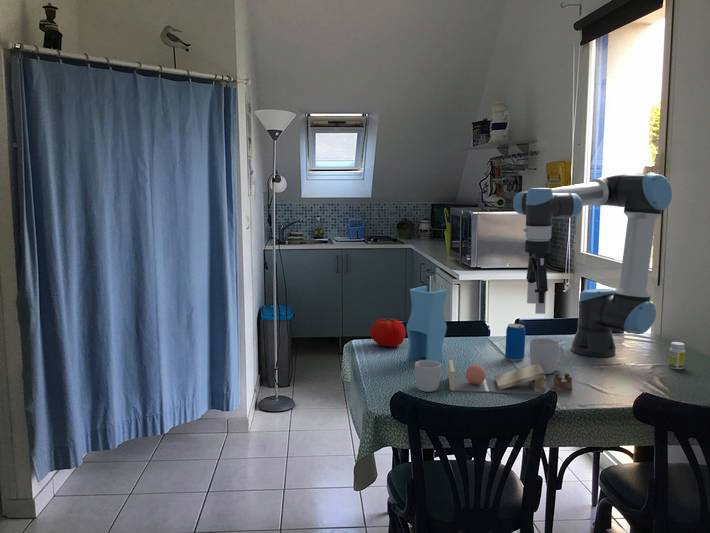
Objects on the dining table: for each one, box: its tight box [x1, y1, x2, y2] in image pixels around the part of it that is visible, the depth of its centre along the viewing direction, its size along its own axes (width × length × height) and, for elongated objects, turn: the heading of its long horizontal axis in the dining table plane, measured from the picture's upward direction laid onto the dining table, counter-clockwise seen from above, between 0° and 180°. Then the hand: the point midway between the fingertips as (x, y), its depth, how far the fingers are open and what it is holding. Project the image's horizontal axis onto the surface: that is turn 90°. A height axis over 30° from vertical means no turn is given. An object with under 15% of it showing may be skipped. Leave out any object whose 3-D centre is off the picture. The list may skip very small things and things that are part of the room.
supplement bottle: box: [668, 341, 686, 370], centre depth 215 cm, size 5×5×8 cm
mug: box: [529, 338, 565, 375], centre depth 211 cm, size 13×9×10 cm
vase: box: [405, 285, 448, 363], centre depth 219 cm, size 10×10×25 cm
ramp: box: [494, 363, 547, 392], centre depth 194 cm, size 14×9×6 cm, turn 84°
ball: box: [465, 364, 487, 385], centre depth 196 cm, size 6×6×6 cm
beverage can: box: [504, 323, 527, 362], centre depth 223 cm, size 6×6×12 cm
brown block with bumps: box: [553, 372, 573, 392], centre depth 193 cm, size 5×5×4 cm
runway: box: [447, 359, 551, 396], centre depth 195 cm, size 30×12×6 cm, turn 84°
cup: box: [414, 359, 442, 393], centre depth 193 cm, size 11×8×8 cm
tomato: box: [370, 317, 407, 348], centre depth 239 cm, size 13×12×11 cm
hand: (535, 308), depth 197 cm, fingers open, 13 cm apart
